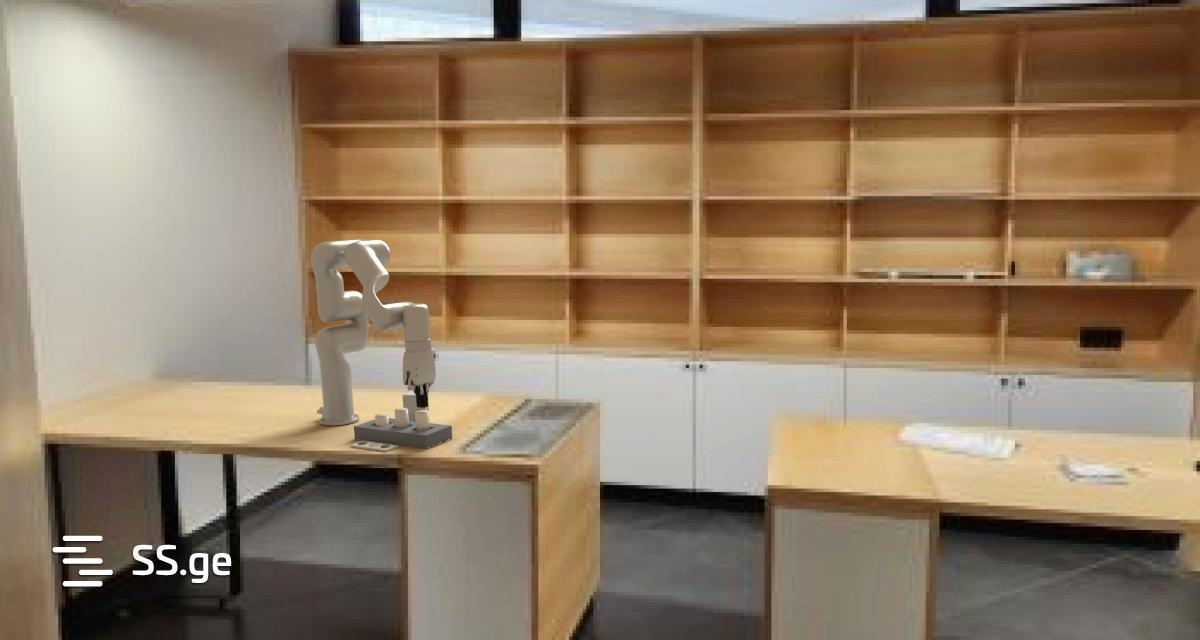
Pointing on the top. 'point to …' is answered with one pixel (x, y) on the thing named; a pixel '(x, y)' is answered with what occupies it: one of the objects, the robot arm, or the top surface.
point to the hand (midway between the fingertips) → (422, 406)
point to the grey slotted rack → (403, 434)
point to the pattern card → (373, 446)
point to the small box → (411, 405)
